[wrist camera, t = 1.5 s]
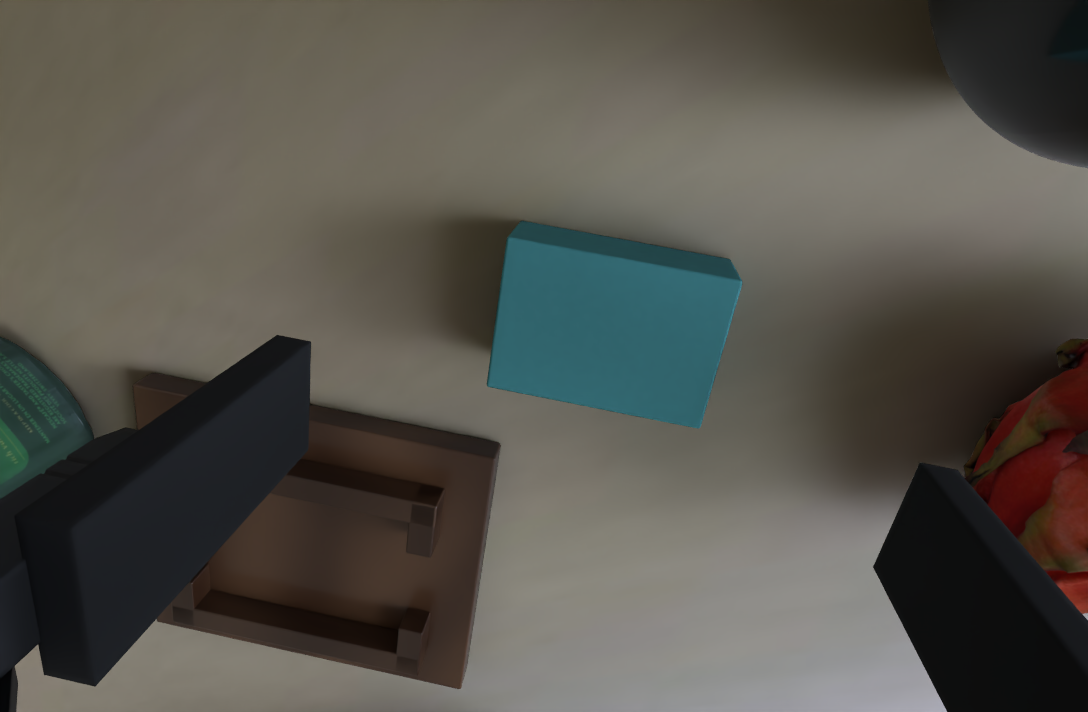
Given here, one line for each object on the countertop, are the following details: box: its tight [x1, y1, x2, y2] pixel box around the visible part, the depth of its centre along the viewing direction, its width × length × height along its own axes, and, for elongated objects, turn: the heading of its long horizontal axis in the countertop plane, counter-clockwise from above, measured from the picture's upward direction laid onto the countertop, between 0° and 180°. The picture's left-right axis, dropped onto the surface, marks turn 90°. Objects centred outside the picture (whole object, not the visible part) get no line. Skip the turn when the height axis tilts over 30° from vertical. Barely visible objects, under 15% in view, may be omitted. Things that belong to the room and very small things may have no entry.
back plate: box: [133, 373, 501, 689], centre depth 27 cm, size 14×12×2 cm
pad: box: [487, 221, 742, 428], centre depth 21 cm, size 7×5×3 cm
